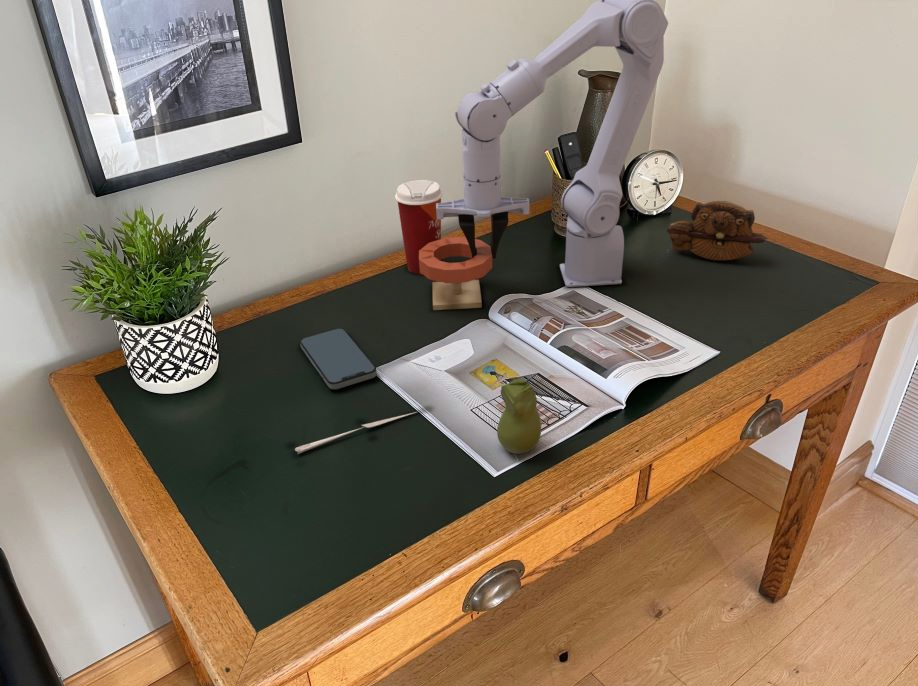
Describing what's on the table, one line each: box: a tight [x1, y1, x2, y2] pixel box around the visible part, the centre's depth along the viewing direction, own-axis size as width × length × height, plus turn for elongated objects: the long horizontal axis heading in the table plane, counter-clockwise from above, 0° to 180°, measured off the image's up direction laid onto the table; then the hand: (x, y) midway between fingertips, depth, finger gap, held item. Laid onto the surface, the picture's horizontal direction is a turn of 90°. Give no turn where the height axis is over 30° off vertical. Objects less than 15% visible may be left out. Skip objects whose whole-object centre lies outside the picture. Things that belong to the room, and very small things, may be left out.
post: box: [431, 279, 483, 311], centre depth 131 cm, size 8×8×6 cm
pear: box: [496, 378, 542, 455], centre depth 97 cm, size 6×5×10 cm
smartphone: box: [299, 328, 378, 390], centre depth 118 cm, size 8×2×15 cm
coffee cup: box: [394, 179, 444, 275], centre depth 138 cm, size 8×8×15 cm
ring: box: [419, 236, 493, 283], centre depth 128 cm, size 12×12×2 cm
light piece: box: [294, 411, 417, 455], centre depth 104 cm, size 4×1×19 cm
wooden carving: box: [666, 200, 768, 262], centre depth 136 cm, size 16×5×10 cm, turn 68°
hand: (483, 256), depth 128 cm, fingers closed on ring, 2 cm apart
